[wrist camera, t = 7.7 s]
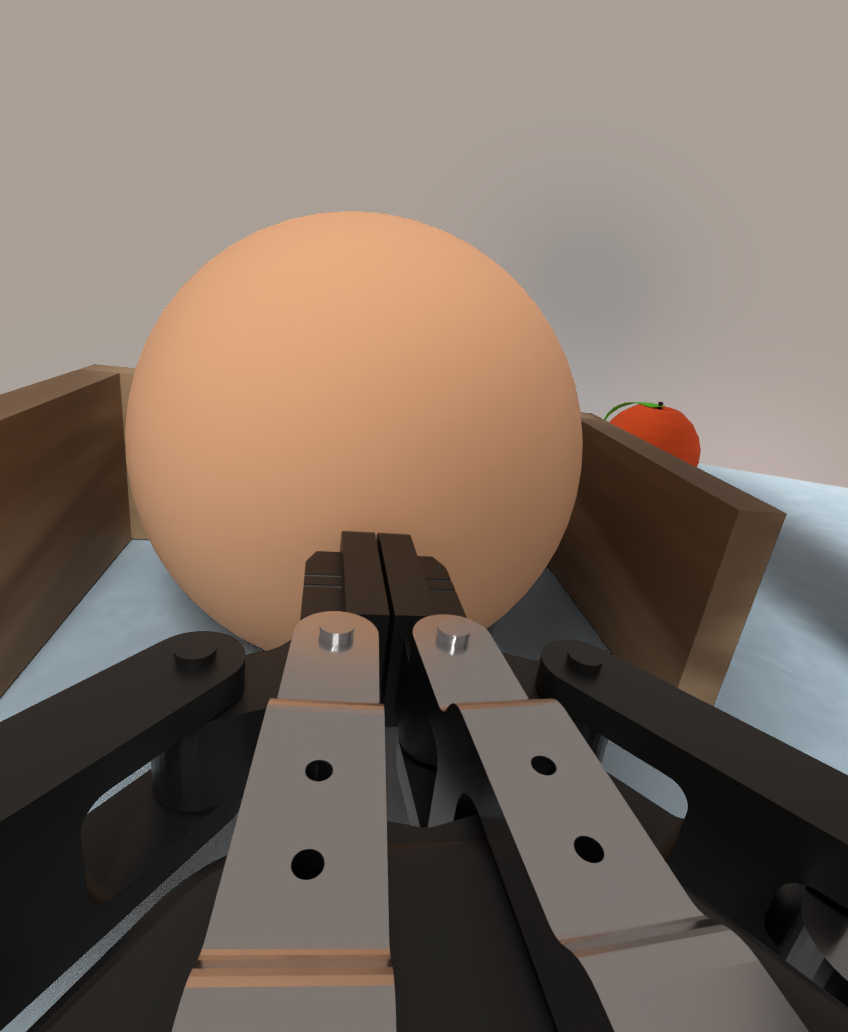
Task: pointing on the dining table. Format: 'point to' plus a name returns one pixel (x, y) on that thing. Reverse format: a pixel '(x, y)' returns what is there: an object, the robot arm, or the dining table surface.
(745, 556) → the pocket
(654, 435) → the clementine
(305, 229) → the ball
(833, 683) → the dining table surface
